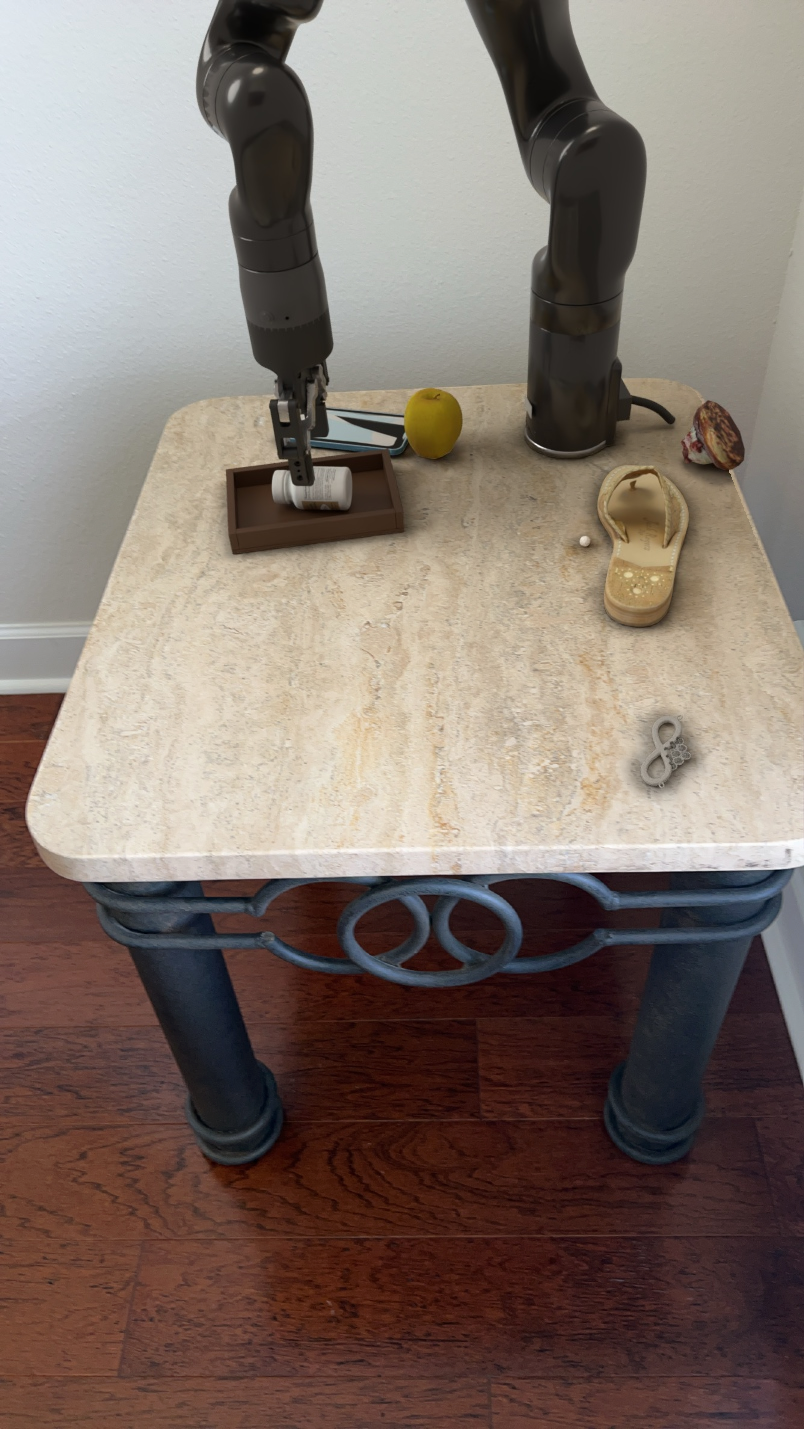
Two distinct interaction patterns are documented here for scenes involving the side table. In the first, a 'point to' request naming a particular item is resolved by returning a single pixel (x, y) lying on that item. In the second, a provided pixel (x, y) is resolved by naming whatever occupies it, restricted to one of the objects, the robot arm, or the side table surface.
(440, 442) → the apple
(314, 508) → the pill bottle
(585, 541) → the sphere
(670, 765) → the charm
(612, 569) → the sandal
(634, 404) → the robot arm
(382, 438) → the smartphone
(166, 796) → the side table surface
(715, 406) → the pastry
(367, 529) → the tray
